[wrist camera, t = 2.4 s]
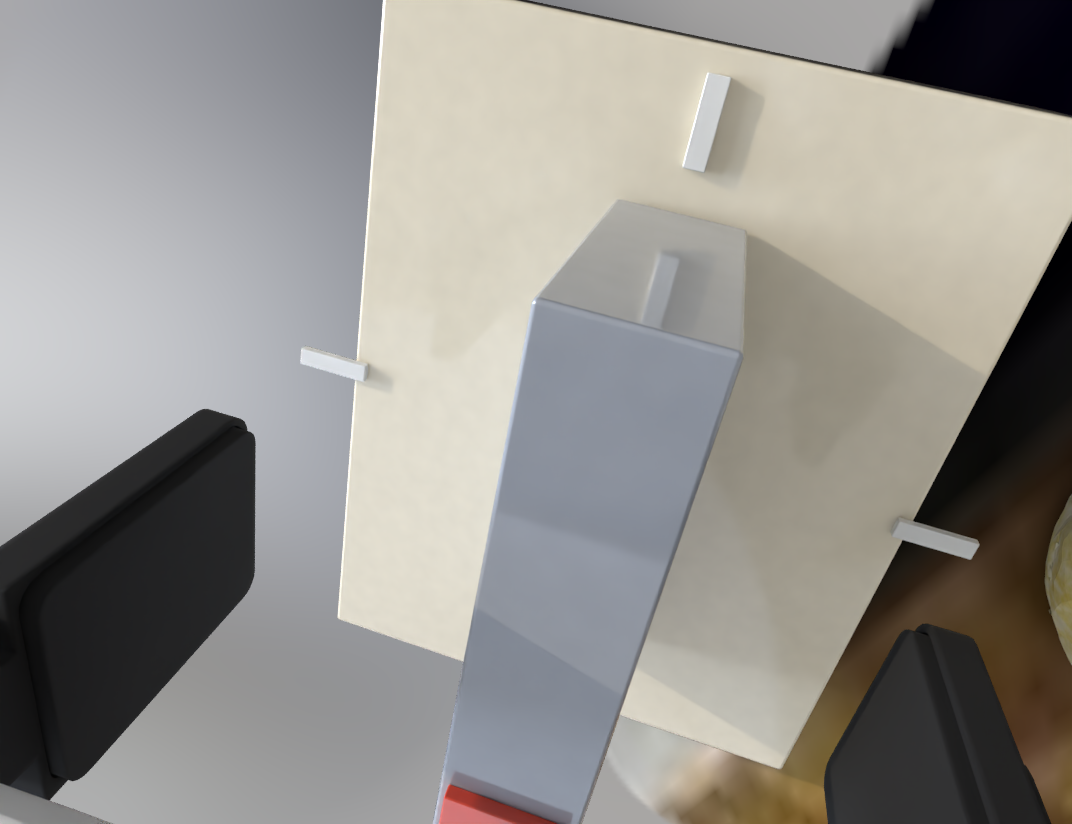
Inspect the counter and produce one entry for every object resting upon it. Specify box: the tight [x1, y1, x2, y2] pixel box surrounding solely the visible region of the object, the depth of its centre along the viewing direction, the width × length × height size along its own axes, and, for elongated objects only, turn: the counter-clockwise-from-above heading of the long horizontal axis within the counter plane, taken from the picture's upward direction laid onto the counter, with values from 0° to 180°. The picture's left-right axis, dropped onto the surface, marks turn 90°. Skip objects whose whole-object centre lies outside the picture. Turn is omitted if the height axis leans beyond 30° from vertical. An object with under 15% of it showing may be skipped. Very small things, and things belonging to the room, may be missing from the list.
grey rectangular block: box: [433, 199, 747, 824], centre depth 12 cm, size 9×2×6 cm, turn 169°
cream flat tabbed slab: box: [301, 0, 1072, 769], centre depth 16 cm, size 14×13×3 cm
